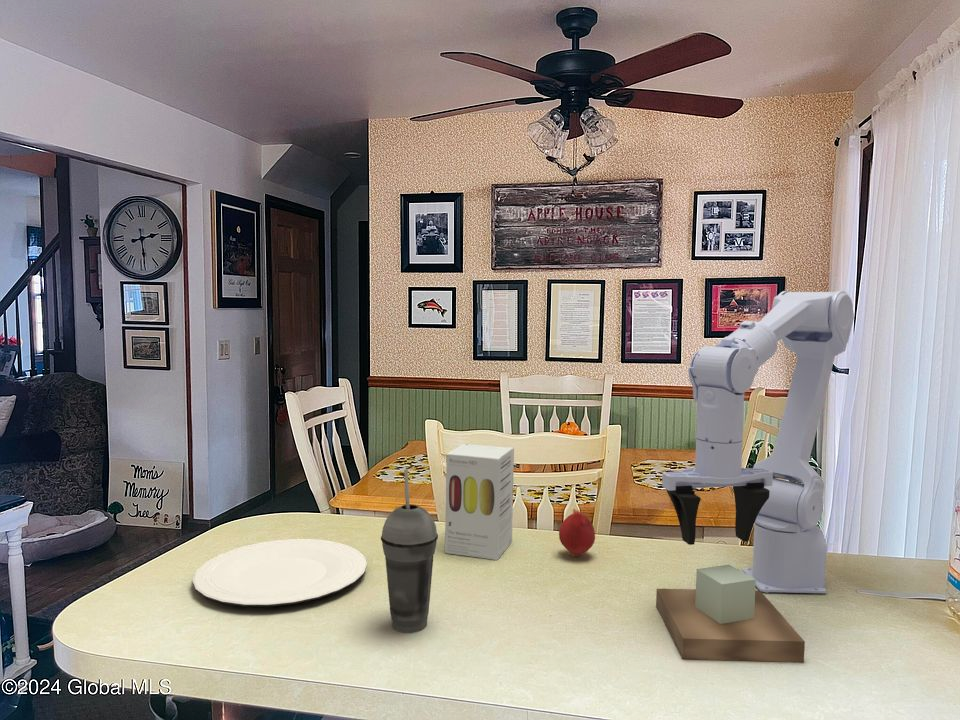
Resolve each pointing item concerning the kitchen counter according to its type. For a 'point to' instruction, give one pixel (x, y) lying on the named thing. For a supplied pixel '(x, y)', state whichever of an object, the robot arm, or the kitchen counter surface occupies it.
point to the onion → (577, 533)
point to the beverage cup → (409, 563)
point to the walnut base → (728, 631)
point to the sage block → (725, 593)
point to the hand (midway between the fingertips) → (715, 540)
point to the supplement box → (479, 500)
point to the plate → (279, 572)
